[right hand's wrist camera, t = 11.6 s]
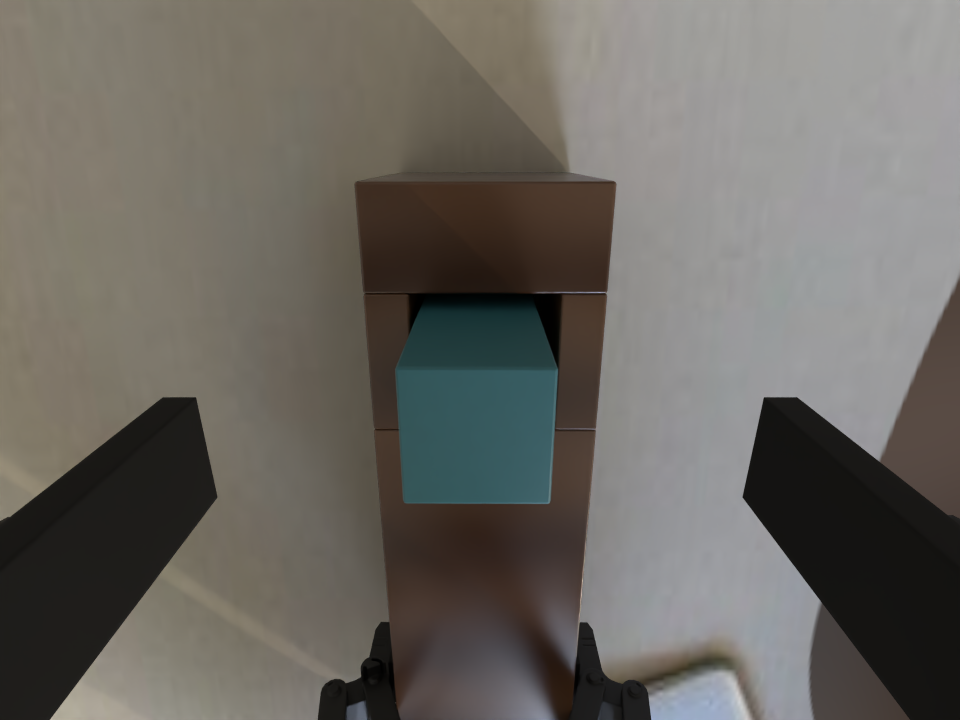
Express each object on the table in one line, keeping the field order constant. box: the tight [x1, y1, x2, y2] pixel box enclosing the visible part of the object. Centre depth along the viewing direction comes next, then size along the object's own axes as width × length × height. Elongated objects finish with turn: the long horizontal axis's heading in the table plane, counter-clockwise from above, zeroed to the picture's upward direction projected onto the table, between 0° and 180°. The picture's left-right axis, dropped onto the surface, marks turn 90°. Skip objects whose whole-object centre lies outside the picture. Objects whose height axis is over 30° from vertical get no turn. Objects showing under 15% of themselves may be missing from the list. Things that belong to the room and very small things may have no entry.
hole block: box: [355, 173, 616, 720], centre depth 25 cm, size 28×8×9 cm, turn 0°
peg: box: [395, 294, 558, 504], centre depth 20 cm, size 4×4×14 cm
